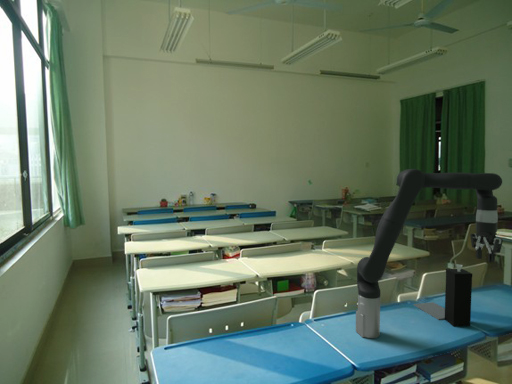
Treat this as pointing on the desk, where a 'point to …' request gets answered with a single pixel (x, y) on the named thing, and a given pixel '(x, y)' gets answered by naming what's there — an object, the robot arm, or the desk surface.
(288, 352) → the desk surface
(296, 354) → the desk surface
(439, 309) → the rubber mat
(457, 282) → the black rectangular bar
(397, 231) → the robot arm
